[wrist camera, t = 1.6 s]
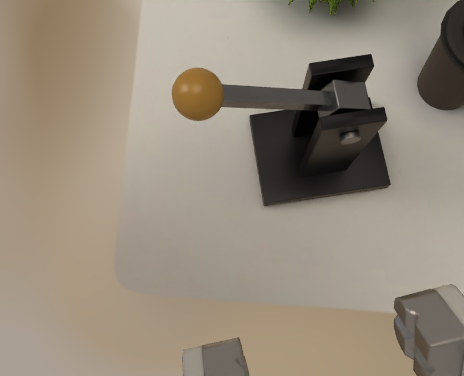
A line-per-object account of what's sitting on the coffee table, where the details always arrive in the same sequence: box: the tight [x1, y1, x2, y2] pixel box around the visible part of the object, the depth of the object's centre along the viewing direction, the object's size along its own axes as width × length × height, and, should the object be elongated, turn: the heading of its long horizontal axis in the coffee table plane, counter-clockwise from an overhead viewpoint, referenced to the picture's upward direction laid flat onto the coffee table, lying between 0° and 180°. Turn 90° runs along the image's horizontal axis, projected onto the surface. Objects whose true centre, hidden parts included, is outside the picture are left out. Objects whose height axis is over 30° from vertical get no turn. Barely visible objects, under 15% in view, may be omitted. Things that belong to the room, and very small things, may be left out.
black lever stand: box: [250, 54, 391, 206], centre depth 37 cm, size 12×9×14 cm
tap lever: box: [172, 68, 371, 121], centre depth 29 cm, size 14×3×3 cm, turn 98°
